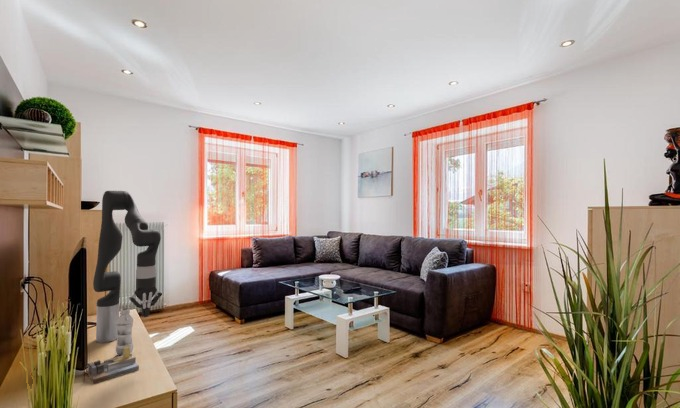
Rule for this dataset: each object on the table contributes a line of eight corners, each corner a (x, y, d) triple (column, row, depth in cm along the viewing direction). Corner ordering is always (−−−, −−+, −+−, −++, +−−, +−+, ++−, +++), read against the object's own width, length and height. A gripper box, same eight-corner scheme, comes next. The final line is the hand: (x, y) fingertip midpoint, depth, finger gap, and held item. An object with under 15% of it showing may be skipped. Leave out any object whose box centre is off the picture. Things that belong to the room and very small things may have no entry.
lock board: (84, 371, 134) (84, 360, 134) (127, 358, 145) (127, 348, 145) (93, 383, 125) (94, 371, 125) (138, 369, 136) (139, 358, 136)
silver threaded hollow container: (124, 358, 146) (125, 311, 146) (111, 356, 147) (112, 310, 148) (136, 352, 152) (137, 307, 153) (124, 350, 154) (124, 306, 154)
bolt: (112, 364, 136) (112, 349, 136) (129, 359, 141) (129, 345, 141) (114, 367, 134) (114, 351, 134) (131, 362, 139) (131, 347, 139)
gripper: (159, 272, 152) (158, 311, 152) (125, 277, 142) (125, 318, 142) (165, 275, 147) (165, 314, 147) (131, 279, 137) (131, 322, 137)
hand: (145, 316), depth 144 cm, fingers closed
